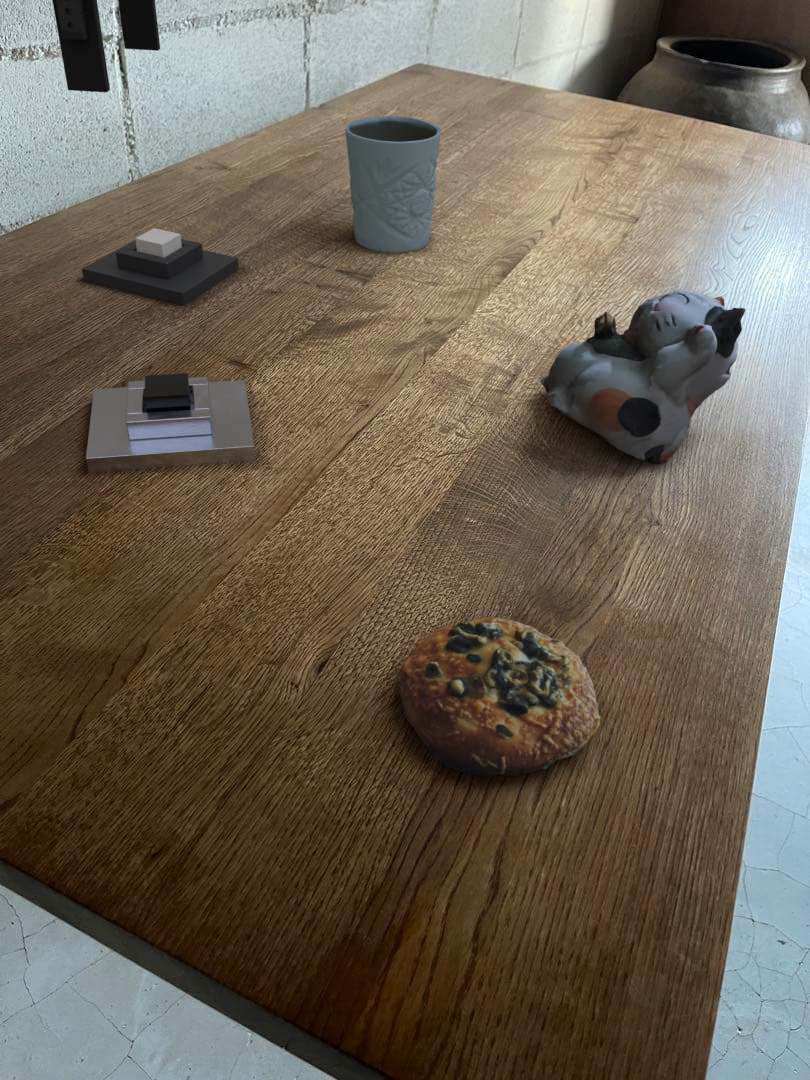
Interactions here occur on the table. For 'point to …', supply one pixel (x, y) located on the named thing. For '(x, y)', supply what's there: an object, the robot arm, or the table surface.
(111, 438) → the grey holder base
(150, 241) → the back key
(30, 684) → the table surface
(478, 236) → the table surface
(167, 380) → the front key
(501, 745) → the bread roll
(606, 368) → the lucky cat figurine
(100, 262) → the back keypad
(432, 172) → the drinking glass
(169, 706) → the table surface
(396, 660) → the table surface
